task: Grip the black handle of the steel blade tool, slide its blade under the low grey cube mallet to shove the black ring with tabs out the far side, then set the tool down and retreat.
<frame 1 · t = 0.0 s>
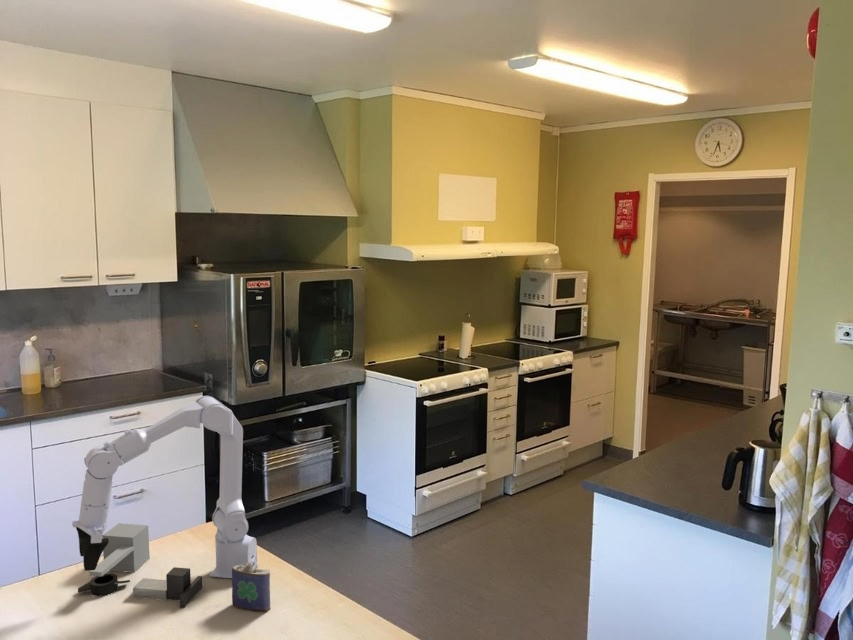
hand: (87, 562, 151), 11 cm above the table, tool pointing down, fingers open, 7 cm apart
blade tool: (179, 596, 158), on the table
black ring with tabs: (104, 591, 160), on the table
flask: (250, 608, 154), on the table
grey cube mallet: (126, 565, 172), on the table
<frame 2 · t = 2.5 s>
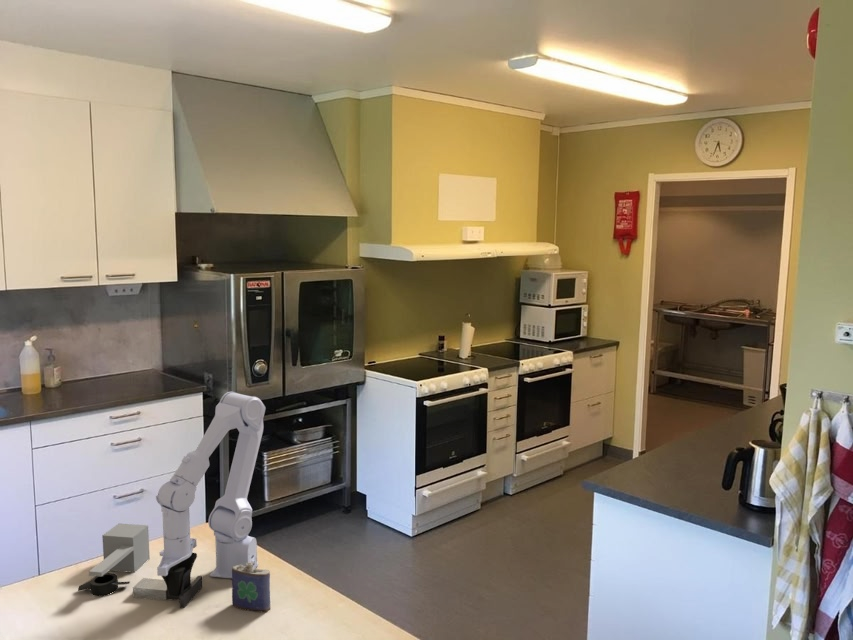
hand: (179, 590, 158), 1 cm above the table, tool pointing down, fingers closed on blade tool, 3 cm apart
blade tool: (179, 596, 158), on the table, touching gripper
everything else where it was.
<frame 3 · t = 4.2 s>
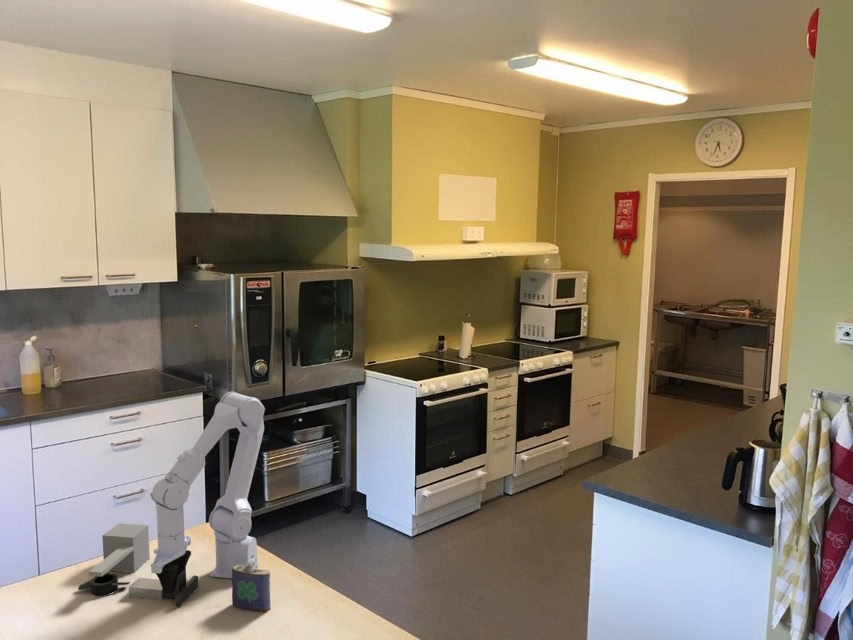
hand: (173, 587, 158), 2 cm above the table, tool pointing down, fingers closed on blade tool, 3 cm apart
blade tool: (174, 595, 158), on the table, touching gripper
everything else where it was.
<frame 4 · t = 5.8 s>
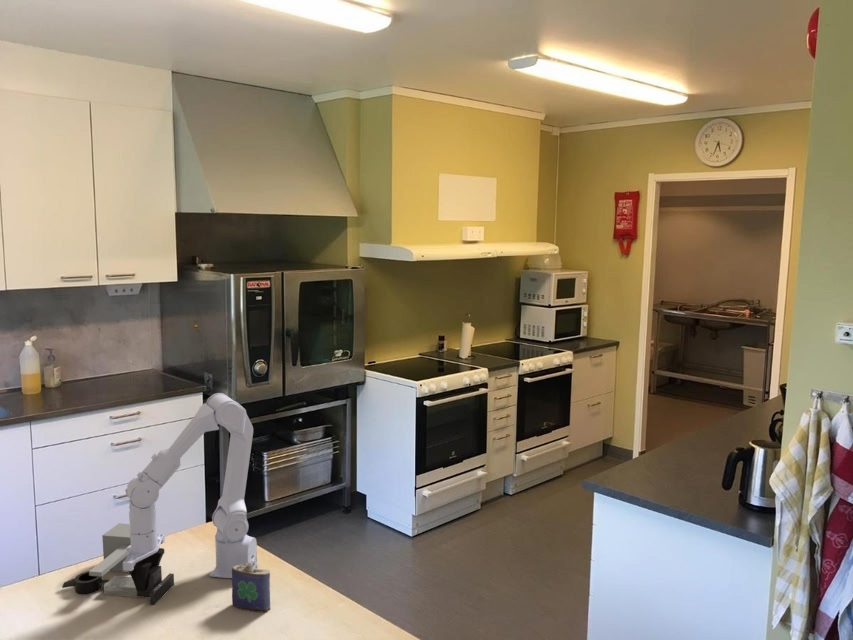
hand: (146, 585, 159), 2 cm above the table, tool pointing down, fingers closed on blade tool, 3 cm apart
blade tool: (150, 593, 159), on the table, touching black ring with tabs, gripper
black ring with tabs: (88, 589, 161), on the table, touching blade tool
everything else where it was.
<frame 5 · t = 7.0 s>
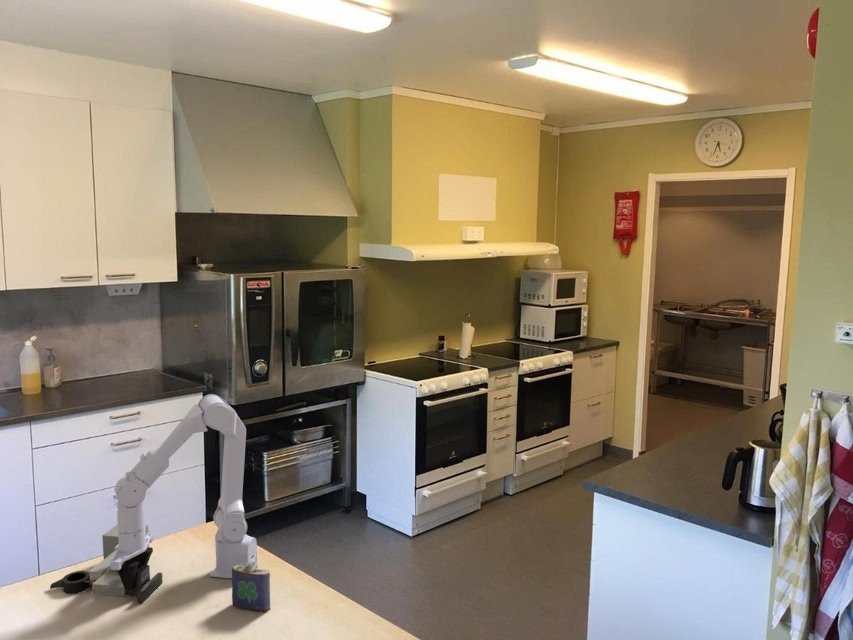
hand: (134, 584, 159), 2 cm above the table, tool pointing down, fingers closed on blade tool, 4 cm apart
blade tool: (138, 592, 159), on the table, touching gripper
black ring with tabs: (77, 589, 161), on the table
everything else where it was.
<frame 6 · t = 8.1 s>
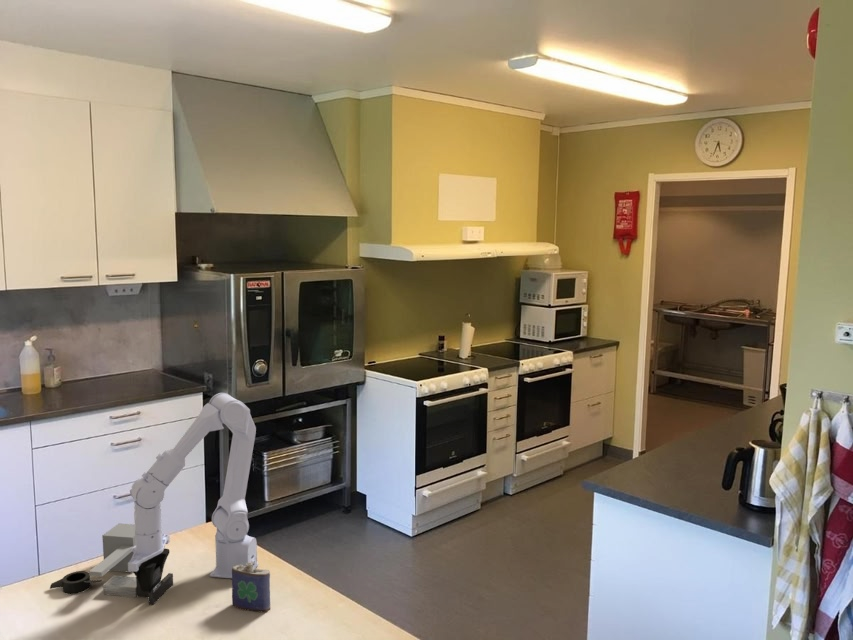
hand: (151, 585, 159), 2 cm above the table, tool pointing down, fingers closed on blade tool, 3 cm apart
blade tool: (149, 593, 159), on the table, touching gripper
everything else where it was.
when the fingers open (2 cm above the table, at t = 9.0 s): blade tool stays where it is, on the table.
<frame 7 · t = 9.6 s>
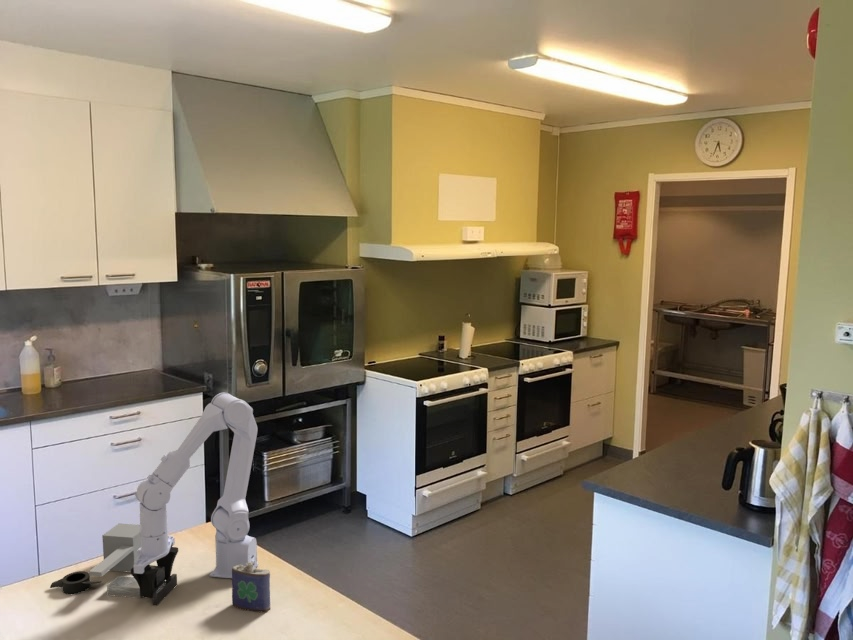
hand: (156, 587, 158), 2 cm above the table, tool pointing down, fingers open, 7 cm apart
blade tool: (153, 593, 159), on the table
everything else where it was.
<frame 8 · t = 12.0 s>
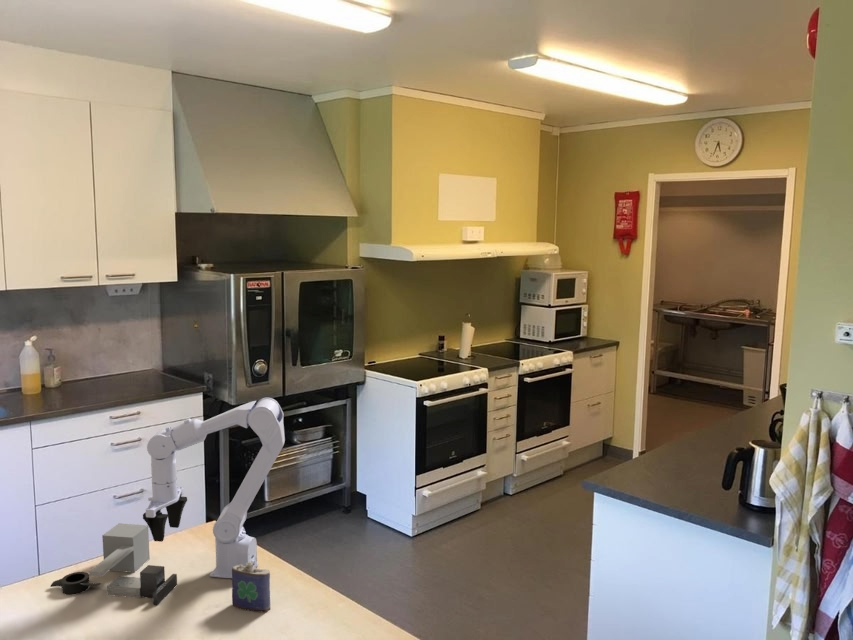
hand: (166, 533, 167), 10 cm above the table, tool pointing down, fingers open, 7 cm apart
nothing on the table moved.
at the end: black ring with tabs inside the target area (5.4 cm from its centre), on the table; the gripper is holding nothing; blade tool on the table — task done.
